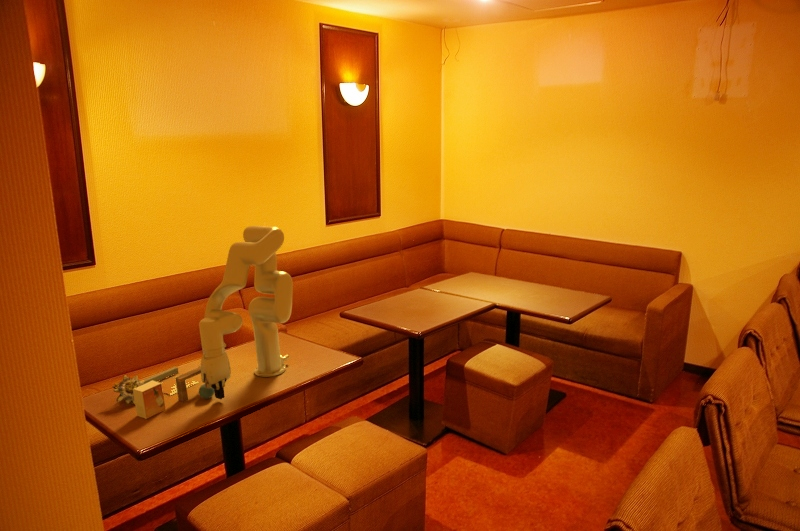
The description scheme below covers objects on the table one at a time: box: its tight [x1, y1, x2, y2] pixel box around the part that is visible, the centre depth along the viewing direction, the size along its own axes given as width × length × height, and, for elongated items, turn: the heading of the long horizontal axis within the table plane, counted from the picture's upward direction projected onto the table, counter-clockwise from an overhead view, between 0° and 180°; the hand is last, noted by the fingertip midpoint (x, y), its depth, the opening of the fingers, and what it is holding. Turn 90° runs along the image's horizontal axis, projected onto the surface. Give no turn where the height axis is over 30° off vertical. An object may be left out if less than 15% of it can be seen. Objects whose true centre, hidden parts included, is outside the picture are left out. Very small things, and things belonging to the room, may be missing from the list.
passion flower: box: [112, 374, 144, 405], centre depth 210 cm, size 11×11×12 cm
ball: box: [198, 383, 215, 400], centre depth 209 cm, size 6×6×6 cm
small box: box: [133, 380, 166, 420], centre depth 199 cm, size 8×6×10 cm
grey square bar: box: [143, 366, 179, 384], centre depth 226 cm, size 16×2×2 cm, turn 146°
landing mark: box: [169, 380, 200, 397], centre depth 221 cm, size 13×13×1 cm
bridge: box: [174, 365, 201, 403], centre depth 213 cm, size 3×14×9 cm, turn 146°
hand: (220, 397), depth 206 cm, fingers closed
